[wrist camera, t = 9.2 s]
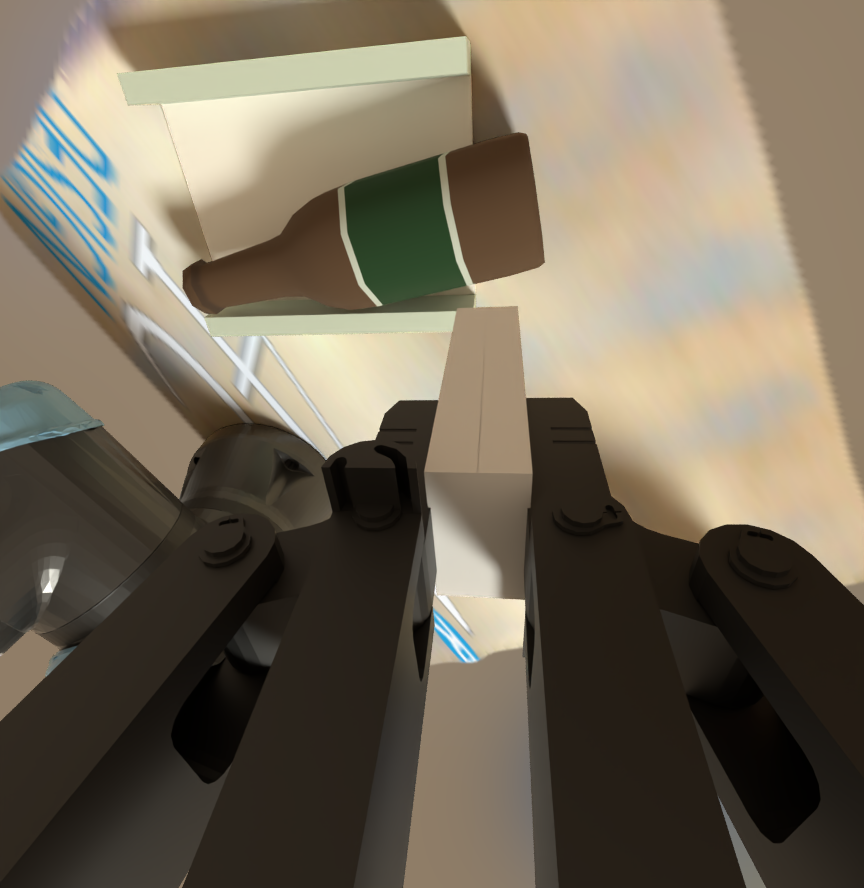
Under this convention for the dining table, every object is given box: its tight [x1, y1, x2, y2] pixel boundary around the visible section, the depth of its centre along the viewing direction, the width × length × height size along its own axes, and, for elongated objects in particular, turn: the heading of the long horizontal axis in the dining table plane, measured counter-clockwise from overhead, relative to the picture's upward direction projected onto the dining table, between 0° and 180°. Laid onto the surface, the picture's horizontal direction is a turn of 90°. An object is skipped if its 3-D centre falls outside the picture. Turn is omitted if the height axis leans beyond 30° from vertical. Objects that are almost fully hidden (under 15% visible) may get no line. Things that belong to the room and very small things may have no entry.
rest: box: [117, 36, 476, 337], centre depth 32 cm, size 20×16×4 cm
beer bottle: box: [183, 132, 545, 314], centre depth 32 cm, size 8×8×24 cm
